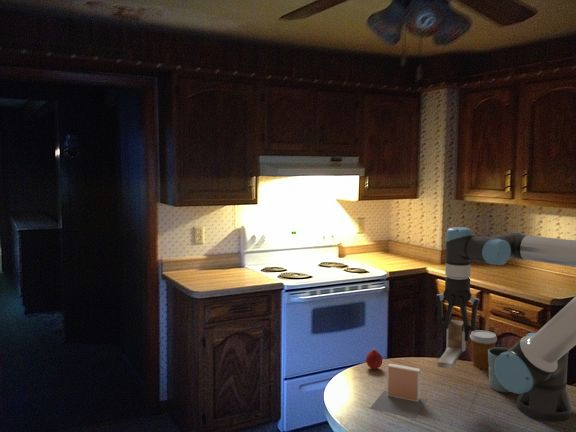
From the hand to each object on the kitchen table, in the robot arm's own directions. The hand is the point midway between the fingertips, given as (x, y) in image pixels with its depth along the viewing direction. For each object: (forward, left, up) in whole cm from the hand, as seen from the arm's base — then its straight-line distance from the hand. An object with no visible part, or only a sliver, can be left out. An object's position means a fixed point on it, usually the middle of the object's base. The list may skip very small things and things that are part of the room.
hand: (455, 348), depth 176 cm
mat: (+14, +14, -16) cm, 25 cm away
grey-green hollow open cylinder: (-13, -15, -16) cm, 25 cm away
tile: (+14, +9, -15) cm, 23 cm away
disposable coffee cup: (-4, -31, -16) cm, 35 cm away
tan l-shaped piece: (0, +7, 0) cm, 7 cm away
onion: (+30, -9, -16) cm, 35 cm away
